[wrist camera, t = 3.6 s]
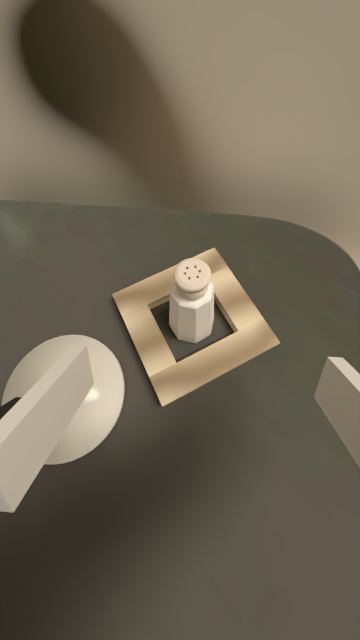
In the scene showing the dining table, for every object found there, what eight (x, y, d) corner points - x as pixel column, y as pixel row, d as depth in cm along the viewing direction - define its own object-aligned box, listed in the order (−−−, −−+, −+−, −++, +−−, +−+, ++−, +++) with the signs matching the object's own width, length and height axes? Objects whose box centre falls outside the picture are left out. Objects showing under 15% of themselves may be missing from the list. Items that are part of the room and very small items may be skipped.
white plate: (-4, 367, 26) (-9, 366, 25) (101, 318, 27) (99, 316, 27) (22, 488, 22) (16, 492, 21) (144, 422, 23) (142, 423, 22)
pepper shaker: (209, 298, 28) (220, 237, 17) (218, 340, 26) (237, 299, 15) (166, 305, 28) (151, 247, 17) (172, 347, 26) (160, 311, 15)
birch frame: (116, 300, 28) (112, 294, 27) (213, 255, 30) (214, 247, 28) (164, 406, 24) (162, 406, 22) (275, 346, 25) (280, 342, 24)
